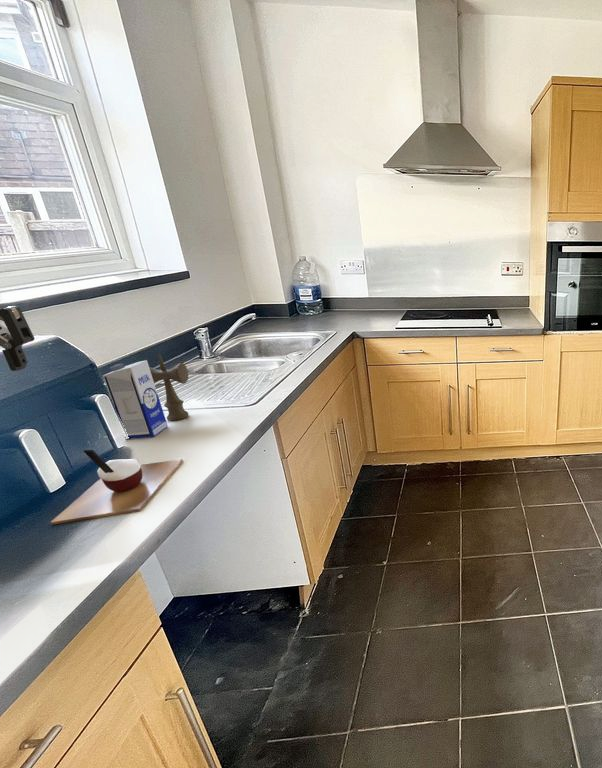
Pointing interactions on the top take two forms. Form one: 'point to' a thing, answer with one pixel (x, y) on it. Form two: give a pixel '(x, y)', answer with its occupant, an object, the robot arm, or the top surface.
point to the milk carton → (136, 399)
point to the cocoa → (117, 472)
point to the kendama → (171, 387)
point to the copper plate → (118, 495)
